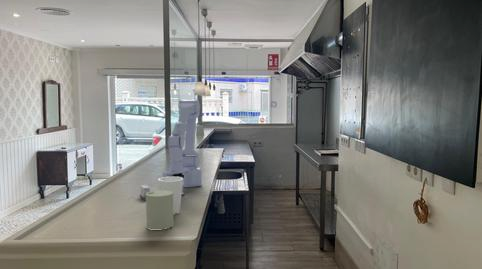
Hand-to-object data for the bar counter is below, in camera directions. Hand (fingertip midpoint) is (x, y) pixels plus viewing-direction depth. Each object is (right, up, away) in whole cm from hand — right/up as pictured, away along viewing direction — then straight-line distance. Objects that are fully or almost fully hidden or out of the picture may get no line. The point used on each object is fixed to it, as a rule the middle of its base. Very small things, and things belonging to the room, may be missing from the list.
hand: (176, 190), depth 166 cm
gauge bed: (-6, -2, -3) cm, 7 cm away
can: (+2, -6, -45) cm, 45 cm away
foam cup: (+3, -4, -29) cm, 29 cm away
